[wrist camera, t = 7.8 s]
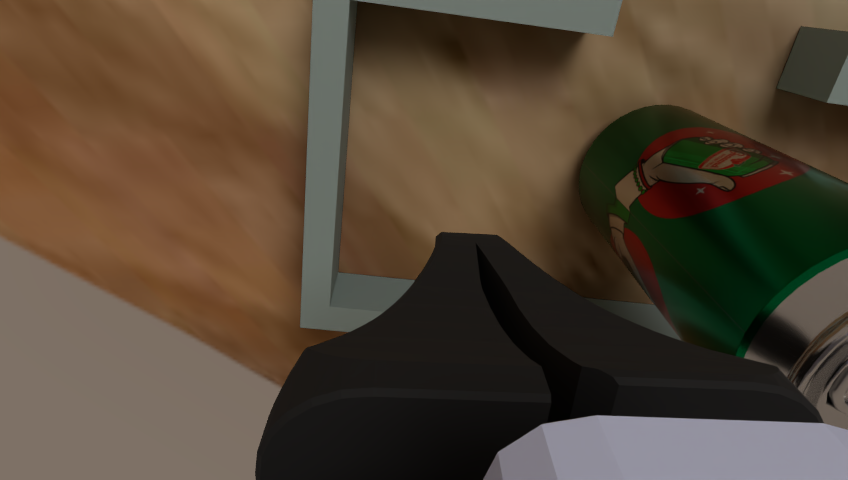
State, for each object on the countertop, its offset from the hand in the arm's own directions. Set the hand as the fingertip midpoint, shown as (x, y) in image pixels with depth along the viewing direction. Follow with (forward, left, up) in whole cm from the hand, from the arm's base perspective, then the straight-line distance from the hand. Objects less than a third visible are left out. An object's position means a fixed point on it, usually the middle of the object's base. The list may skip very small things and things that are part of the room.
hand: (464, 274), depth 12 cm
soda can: (-7, -1, -9) cm, 11 cm away
